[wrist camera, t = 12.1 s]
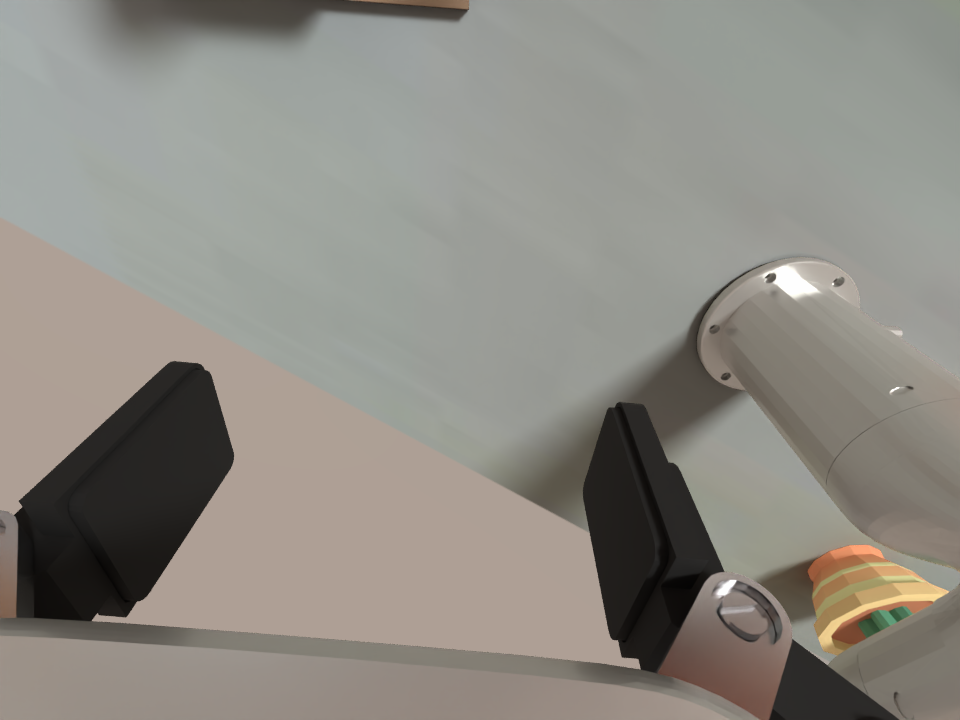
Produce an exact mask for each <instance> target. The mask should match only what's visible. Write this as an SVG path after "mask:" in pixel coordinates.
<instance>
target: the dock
mask: <svg viewBox="0 0 960 720" xmlns="http://www.w3.org/2000/svg"><path fill="white" fill-rule="evenodd" d="M346 1H359V2H372V3H385V4H398V5H411V6H424V7H437V8H450V9H463V10H469V0H346Z"/></svg>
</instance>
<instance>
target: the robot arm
mask: <svg viewBox="0 0 960 720" xmlns="http://www.w3.org/2000/svg"><path fill="white" fill-rule="evenodd" d="M697 351H698V354H699V358H700V360H701V362H702V364H703V365H704V367H705V369H706V370H707V371H708V372H709V374H710V375H711V376H712V377H713V378H714V379H715V380H717V381H718V382H719V383H721V384H724V385H726V386H728V387H730V388H735V389H739V390H746V391H747V392H748V393H749V395H750V396H751V397H752V398H753V400H754V401H755V402H756V403H757V405H758V406H759V407H760V409H761V410H762V411H763V412H764V414H765V415H766V416H767V417H768V419H769V420H770V421H771V423H772V424H773V425H774V426H775V428H776V429H777V430H778V432H779V433H780V434H781V435H782V437H783V438H784V439H785V440H786V442H787V443H788V444H789V446H790V447H791V448H792V449H793V451H794V452H795V453H796V455H797V456H798V457H799V458H800V460H801V461H802V462H803V463H804V465H805V466H806V467H807V469H808V470H809V471H810V472H811V474H812V475H813V476H814V478H815V479H816V480H817V481H818V483H819V484H820V485H821V486H822V488H823V489H824V490H825V492H826V493H827V494H828V495H829V497H830V498H831V499H832V501H833V502H834V503H835V504H836V506H837V507H838V508H839V509H840V511H841V512H842V513H843V514H844V515H845V517H846V518H847V519H848V520H849V521H850V522H851V523H852V524H853V525H854V526H855V527H856V528H858V529H859V530H860V531H861V532H862V533H864V534H865V535H867V536H868V537H870V538H871V539H873V540H874V541H876V542H878V543H880V544H882V545H884V546H886V547H888V548H890V549H892V550H895V551H897V552H900V553H903V554H906V555H909V556H912V557H915V558H918V559H921V560H924V561H928V562H931V563H935V564H939V565H942V566H946V567H950V568H953V569H956V570H957V571H958V572H960V378H958V377H957V376H955V375H954V374H952V373H951V372H949V371H948V370H946V369H945V368H944V367H942V366H941V365H939V364H938V363H936V362H935V361H933V360H932V359H931V358H929V357H928V356H926V355H925V354H923V353H922V352H920V351H919V350H917V349H916V348H915V347H913V346H912V345H910V344H909V343H907V342H906V341H904V340H903V339H902V330H901V329H900V328H899V327H896V326H883V325H881V324H880V323H878V322H877V321H875V320H874V319H872V318H871V317H870V316H868V315H867V314H865V313H864V312H862V311H861V310H860V295H859V292H858V289H857V286H856V284H855V283H854V281H853V280H852V279H851V277H850V276H849V275H848V274H847V273H845V272H844V271H843V270H841V269H840V268H838V267H836V266H835V265H833V264H831V263H829V262H827V261H824V260H820V259H816V258H807V257H796V258H788V259H782V260H778V261H775V262H771V263H767V264H765V265H763V266H761V267H758V268H756V269H754V270H752V271H750V272H748V273H747V274H745V275H743V276H742V277H740V278H739V279H737V280H736V281H734V282H733V283H732V284H731V285H730V286H728V287H727V288H726V289H725V290H724V291H723V292H722V293H721V294H720V295H719V296H718V297H717V298H716V299H715V301H714V302H713V303H712V304H711V306H710V307H709V309H708V311H707V312H706V314H705V315H704V318H703V320H702V322H701V325H700V327H699V332H698V336H697ZM233 460H234V452H233V449H232V445H231V442H230V438H229V435H228V431H227V428H226V425H225V421H224V418H223V414H222V411H221V407H220V404H219V400H218V397H217V393H216V390H215V386H214V383H213V379H212V376H211V374H210V372H208V371H206V370H204V367H203V366H202V365H201V364H198V363H188V362H176V361H173V362H170V363H168V364H167V365H166V366H165V367H164V368H163V369H161V370H160V371H159V372H158V373H157V374H156V375H155V376H154V377H153V378H152V379H151V380H149V381H148V382H147V383H146V384H145V385H144V386H143V387H142V388H141V389H140V390H139V391H138V392H136V393H135V394H134V395H133V396H132V397H131V398H130V399H129V400H128V401H127V402H126V403H125V404H124V405H123V406H121V407H120V408H119V409H118V410H117V411H116V412H115V413H114V414H113V415H112V416H111V417H109V418H108V419H107V420H106V421H105V422H104V423H103V424H102V425H101V426H100V427H99V428H98V429H96V430H95V431H94V432H93V433H92V434H91V435H90V436H89V437H88V438H87V439H86V440H84V441H83V442H82V443H81V444H80V445H79V446H78V447H77V448H76V449H75V450H74V451H73V452H71V453H70V454H69V455H68V456H67V457H66V458H65V459H64V460H63V461H62V462H61V463H60V464H58V465H57V466H56V468H54V469H53V470H52V471H51V472H50V473H49V474H48V475H47V476H46V477H45V478H43V479H42V480H41V481H40V482H39V483H38V484H37V485H36V486H35V487H34V488H32V489H31V490H30V492H28V493H27V494H26V495H25V496H24V497H23V498H22V499H21V500H19V502H20V504H21V505H22V506H23V507H22V508H21V509H20V510H19V511H18V512H17V513H16V514H15V515H12V514H11V513H9V512H7V511H0V720H960V584H959V585H958V586H957V587H956V588H955V589H953V590H952V591H950V592H948V593H947V594H945V595H944V596H942V597H940V598H938V599H937V600H935V601H934V603H933V604H931V605H929V606H928V607H926V608H924V609H922V610H920V611H918V612H916V613H914V614H912V615H910V616H908V617H906V618H905V619H903V620H901V621H899V622H897V623H895V624H893V625H891V626H889V627H887V628H885V629H883V630H881V631H880V632H878V633H876V634H874V635H872V636H870V637H868V638H866V639H864V640H863V641H861V642H859V643H857V644H855V645H853V646H851V647H850V648H848V649H847V650H845V651H844V652H842V653H840V654H839V655H838V656H836V657H835V658H834V659H833V660H832V661H831V662H830V663H829V664H828V665H826V664H825V663H824V662H822V661H821V660H820V659H818V658H817V657H816V656H814V655H813V654H811V653H810V652H809V651H808V650H806V649H805V648H804V647H802V646H801V645H800V644H798V643H797V642H796V641H794V640H793V639H792V632H793V630H792V627H791V623H790V620H789V617H788V615H787V614H786V612H785V610H784V609H783V607H782V605H781V604H780V603H779V602H778V601H777V599H776V598H775V597H774V596H773V595H772V594H771V593H770V592H769V591H768V590H766V589H765V588H764V587H763V586H761V585H760V584H759V583H757V582H755V581H754V580H752V579H750V578H748V577H746V576H743V575H740V574H736V573H733V572H724V569H723V567H722V565H721V563H720V560H719V558H718V556H717V554H716V551H715V549H714V547H713V544H712V542H711V540H710V538H709V535H708V533H707V531H706V528H705V526H704V524H703V522H702V519H701V517H700V515H699V513H698V510H697V508H696V506H695V503H694V501H693V499H692V497H691V494H690V492H689V490H688V487H687V485H686V483H685V481H684V478H683V476H682V474H681V472H680V470H679V468H678V467H677V465H675V464H674V463H668V461H667V458H666V456H665V454H664V451H663V449H662V446H661V444H660V442H659V439H658V437H657V434H656V432H655V430H654V427H653V425H652V422H651V420H650V418H649V415H648V413H647V411H646V408H645V407H644V405H642V404H633V403H622V402H619V403H617V404H616V406H615V408H608V410H607V412H606V415H605V419H604V422H603V425H602V428H601V431H600V435H599V438H598V441H597V444H596V447H595V451H594V454H593V457H592V460H591V463H590V466H589V470H588V473H587V476H586V479H585V482H584V487H583V499H584V505H585V510H586V515H587V521H588V526H589V531H590V536H591V541H592V546H593V552H594V557H595V562H596V568H597V572H598V578H599V583H600V588H601V594H602V599H603V604H604V609H605V615H606V620H607V625H608V630H609V634H610V637H611V638H612V639H613V640H618V642H619V646H620V651H621V656H622V657H624V658H636V659H639V663H640V668H641V670H639V669H633V668H626V667H620V666H614V665H607V664H600V663H590V662H581V661H571V660H562V659H552V658H542V657H533V656H523V655H512V654H500V653H489V652H476V651H465V650H454V649H442V648H430V647H418V646H406V645H395V644H383V643H370V642H358V641H346V640H334V639H320V638H309V637H308V638H307V637H296V636H284V635H271V634H259V633H246V632H232V631H219V630H206V629H193V628H180V627H165V626H153V625H140V624H126V623H110V622H93V621H92V619H93V618H94V616H95V615H96V614H97V613H98V614H99V615H104V616H116V617H127V616H128V614H129V613H130V611H131V610H132V608H133V607H134V605H135V604H136V602H137V601H141V600H143V599H144V598H145V597H146V596H147V595H148V594H149V593H150V591H151V589H152V588H153V586H154V585H155V584H156V582H157V580H158V579H159V577H160V576H161V574H162V573H163V571H164V570H165V568H166V567H167V565H168V564H169V562H170V560H171V559H172V557H173V556H174V554H175V553H176V551H177V550H178V548H179V547H180V545H181V544H182V542H183V541H184V539H185V538H186V536H187V534H188V533H189V531H190V530H191V528H192V527H193V525H194V524H195V522H196V521H197V519H198V518H199V516H200V515H201V513H202V511H203V510H204V508H205V507H206V505H207V504H208V502H209V501H210V499H211V498H212V496H213V495H214V493H215V492H216V490H217V489H218V487H219V485H220V484H221V482H222V481H223V479H224V478H225V476H226V475H227V473H228V472H229V470H230V469H231V466H232V464H233Z"/></svg>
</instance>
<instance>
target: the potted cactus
mask: <svg viewBox="0 0 960 720" xmlns="http://www.w3.org/2000/svg"><path fill="white" fill-rule="evenodd" d="M808 574H809V577H810V579H811V580H812V581H813V582H814V585H813V594H812V600H813V604H814V608H815V613H816V617H817V621H816V622H815V624H814V627H815V630H816V633H817V636H818V639H819V641H820V644H821V646H822V648H823V650H824V651H825V652H828V653H831V654H835V655H839V654H840V653H842V652H844V651H845V650H847V649H848V648H850V647H851V646H853V645H855V644H857V643H859V642H861V641H863V640H864V639H866V638H868V637H870V636H872V635H874V634H876V633H878V632H880V631H881V630H883V629H885V628H887V627H889V626H891V625H893V624H895V623H897V622H899V621H901V620H903V619H905V618H906V617H908V616H910V615H912V614H914V613H916V612H918V611H920V610H922V609H924V608H926V607H928V606H929V605H931V604H933V603H934V601H935V600H937V599H938V598H940V597H942V596H944V595H945V594H947V593H948V592H949V591H947V590H944V589H942V588H940V587H937V586H935V585H932V584H930V583H928V582H927V581H925V580H924V579H923V578H921V577H920V576H918V575H917V574H915V573H914V572H913V571H911V570H909V569H906V568H904V567H902V566H900V565H897V564H895V563H893V562H890V561H888V560H886V559H884V557H883V555H882V553H881V551H880V550H879V549H876V548H874V547H871V546H869V545H851V546H846V547H843V548H839V549H836V550H832V551H829V552H827V553H826V554H824V555H823V556H821V557H819V558H818V559H816V560H815V561H814V562H813V563H812V565H811V566H810V568H809V569H808Z"/></svg>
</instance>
